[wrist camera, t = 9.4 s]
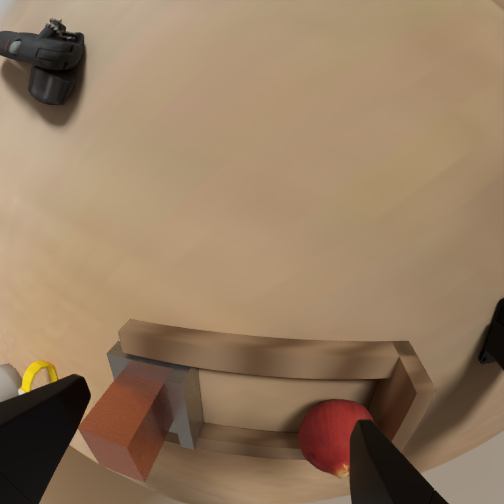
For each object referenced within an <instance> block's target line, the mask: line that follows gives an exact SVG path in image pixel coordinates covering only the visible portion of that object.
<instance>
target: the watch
mask: <svg viewBox="0 0 504 504" xmlns="http://www.w3.org/2000/svg"><path fill="white" fill-rule="evenodd" d="M46 367H47V369H48V373H49V376H50V379H51V380H50V383H52V382H55V381H57V380H58V379H57V375H56V372H55V367H54V366H52V365H51V364H49V363H47V362H45V361H43V360H39V361H36V362H34V363H32V364H31V365H30V366H29V367H28V368H27V370H26V372H25V374H24V377H23V380H22V387H20V388H19V389H18V393H19V395H21V394H24V393H26V392H29V391H31V384H32V382H33V379H34V377H35V375H36V374H37V373H38V372H39V371H40V370H41V369H43V368H46Z"/></svg>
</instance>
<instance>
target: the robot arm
mask: <svg viewBox="0 0 504 504" xmlns="http://www.w3.org/2000/svg"><path fill="white" fill-rule="evenodd" d="M495 361H496V362H497V363H498V364H499V366H500V367H501V368H502V369H503V370H504V298H502V299H501V301H500V303H499V306H498V309H497V312H496V315H495V318H494V321H493V324H492V327H491V329H490V332H489V335H488V337H487V340H486V342H485V345H484V347H483V350H482V352H481V354H480V357H479V362H480V363H481V364H484V363H490V362H495ZM90 398H91V393H90V391H89V388H88V385H87V383H86V380H85V378H84V377H82V376H80V375H77V374H72V375H70V376H67V377H65V378H62V379H60V380H57V381H55V382H52V383H50V384H47V385H45V386H42V387H39V388H37V389H34V390H32V391H29V392H26V393H24V394H21V395H18V396H16V397H13V398H10V399H7V400H5V401H2V402H0V504H39V502H40V501H41V498H42V496H43V494H44V492H45V490H46V488H47V486H48V484H49V482H50V480H51V478H52V476H53V474H54V472H55V470H56V468H57V466H58V464H59V463H60V461H61V459H62V457H63V455H64V453H65V451H66V449H67V447H68V446H69V444H70V442H71V440H72V438H73V437H74V435H75V433H76V431H77V429H78V426H79V424H80V422H81V419H82V417H83V415H84V412H85V410H86V408H87V405H88V403H89V401H90ZM350 492H351V501H352V504H449V503H447V502H446V501H445V500H444V499H443V498H442V497H441V495H439V493H438V492H437V491H436V490H434V488H433V487H432V486H431V485H430V484H429V483H428V482H427V481H426V479H425V478H424V477H423V476H422V475H421V474H420V473H419V472H418V471H417V470H416V469H415V467H414V466H413V465H412V464H411V463H410V462H409V461H408V460H407V459H406V458H405V456H404V455H403V454H402V453H401V452H400V451H399V450H398V449H397V448H396V447H395V445H394V444H393V443H392V442H391V441H390V440H389V439H388V438H387V436H386V435H385V434H384V433H383V432H382V431H381V430H380V429H379V427H378V426H377V425H376V424H375V423H374V422H373V421H372V420H371V419H359V420H357V422H356V424H355V426H354V428H353V431H352V433H351V436H350Z"/></svg>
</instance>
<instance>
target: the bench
mask: <svg viewBox="0 0 504 504" xmlns="http://www.w3.org/2000/svg"><path fill="white" fill-rule="evenodd" d="M118 333H119V338H120V342H121V347H122V351H123V353H128V354H132V355H136V356H140V357H145V358H150V359H154V360H159V361H164V362H169V363H174V364H180V365H186V366H192V367H198V368H204V369H211V370H218V371H225V372H233V373H242V374H251V375H262V376H274V377H288V378H308V379H379V382H378V385H377V388H376V390H375V393H374V396H373V398H372V401H371V403H370V406H369V408H368V412H369V413H370V414H371V416H372V418H373V420H374V423H375V424H376V425H377V426H378V427H379V429H380V430H381V431H382V432H383V433H384V434H385V435H386V436H387V438H388V439H389V440H390V441H391V442H392V443H393V444H394V445H395V447H396V448H397V449H398V450H399V451H400V452H402V450H403V449H404V447H405V446H406V444H407V443H408V441H409V440H410V438H411V436H412V435H413V433H414V432H415V430H416V428H417V427H418V425H419V423H420V421H421V420H422V418H423V416H424V414H425V412H426V411H427V409H428V407H429V405H430V403H431V401H432V399H433V397H434V395H435V393H436V391H437V390H436V388H435V386H434V385H433V383H432V381H431V379H430V377H429V375H428V374H427V372H426V370H425V368H424V367H423V365H422V363H421V361H420V360H419V358H418V356H417V354H416V353H415V351H414V349H413V348H412V346H411V344H410V342H409V341H387V342H355V341H318V340H298V339H282V338H269V337H257V336H246V335H236V334H227V333H218V332H209V331H202V330H194V329H187V328H180V327H173V326H167V325H160V324H154V323H148V322H143V321H137V320H132V319H130V320H129V321H128V322H127V323H126V324H125V325H124V326H123V327H122V328H121V329H120V330H119V331H118ZM165 440H166V441H170V442H174V443H178V444H180V441H179V437H178V434H177V433H173V432H168V434H167V436H166V438H165ZM195 447H196V448H201V449H206V450H211V451H217V452H223V453H230V454H237V455H245V456H254V457H264V458H277V459H297V460H307V459H306V458H305V457H304V456H303V454H302V452H301V450H300V443H299V435H298V433H288V432H273V431H261V430H251V429H243V428H235V427H228V426H221V425H215V424H209V423H204V424H203V427H202V430H201V432H200V435H199V438H198V441H197V444H196V446H195Z"/></svg>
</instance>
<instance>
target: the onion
mask: <svg viewBox="0 0 504 504" xmlns="http://www.w3.org/2000/svg"><path fill="white" fill-rule="evenodd" d="M359 419H371V420H372V421H373V422H374V420H373V418H372V416H371V414H370V413H369V412H368V410H367V409H366V408H365V407H363V406H362V405H361V404H359V403H356V402H354V401H350V400H343V399H332V400H329V401H325V402H322V403H320V404H318V405H316V406H315V407H314V408H313V409H311V410H310V411H309V412H308V414H307V415H306V416H305V418H304V420H303V421H302V423H301V425H300V429H299V433H298V435H299V443H300V450H301V452H302V454H303V456H304V457H305V458H306V459H307V461H309V462H310V463H311V464H312V465H313V466H315V467H316V468H317V469H319V470H321V471H324V472H327V473H330V474H332V475H335V476H336V477H338V478H346V477H348V476H350V436H351V433H352V431H353V428H354V426H355V424H356V422H357V420H359Z"/></svg>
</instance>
